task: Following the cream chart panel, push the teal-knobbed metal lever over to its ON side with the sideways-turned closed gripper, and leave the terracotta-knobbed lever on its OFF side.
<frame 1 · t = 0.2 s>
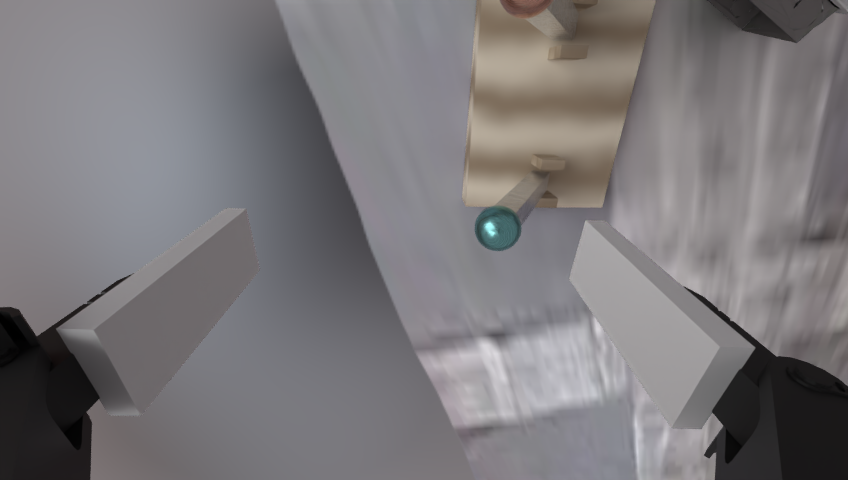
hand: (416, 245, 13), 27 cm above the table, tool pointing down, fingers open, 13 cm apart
switch unit: (542, 98, 36), on the table
terracotta lever: (550, 8, 23), point 12 cm above the table, hinge at -30.0°
teal lever: (520, 201, 29), point 12 cm above the table, hinge at -30.0°
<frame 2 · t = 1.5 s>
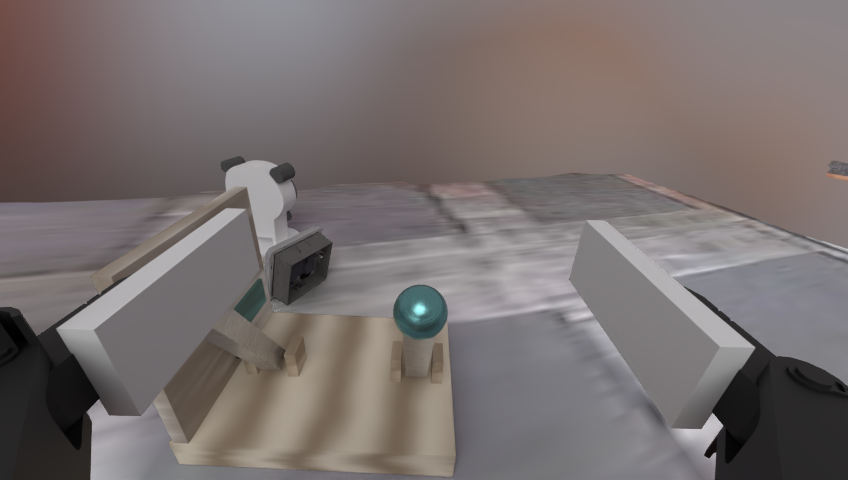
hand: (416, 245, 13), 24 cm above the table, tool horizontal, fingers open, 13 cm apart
switch unit: (339, 388, 35), on the table
terracotta lever: (235, 334, 25), point 12 cm above the table, hinge at -30.0°
panda figurine: (270, 242, 63), on the table
electrical switch: (303, 290, 50), on the table
teal lever: (418, 343, 26), point 12 cm above the table, hinge at -30.0°
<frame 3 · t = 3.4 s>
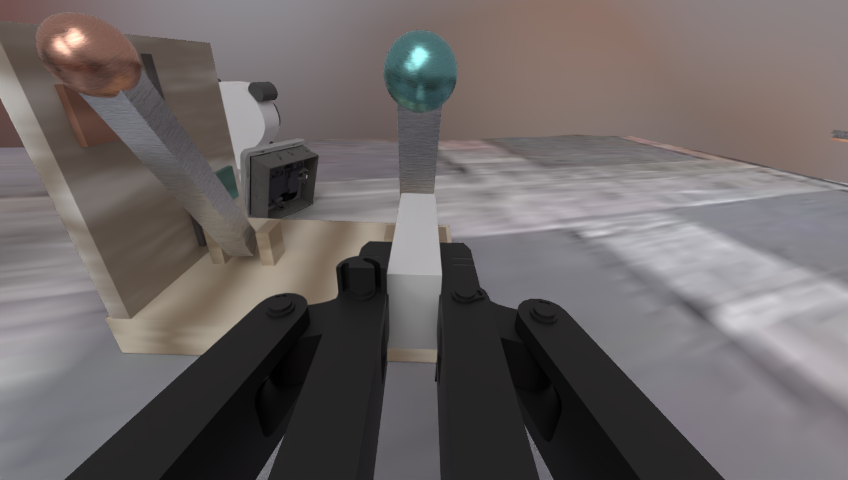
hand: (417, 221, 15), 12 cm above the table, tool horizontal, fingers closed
switch unit: (324, 288, 30), on the table
terracotta lever: (185, 172, 20), point 12 cm above the table, hinge at -30.0°
panda figurine: (252, 178, 57), on the table
electrical switch: (287, 213, 45), on the table
teal lever: (417, 182, 20), point 12 cm above the table, hinge at -30.0°
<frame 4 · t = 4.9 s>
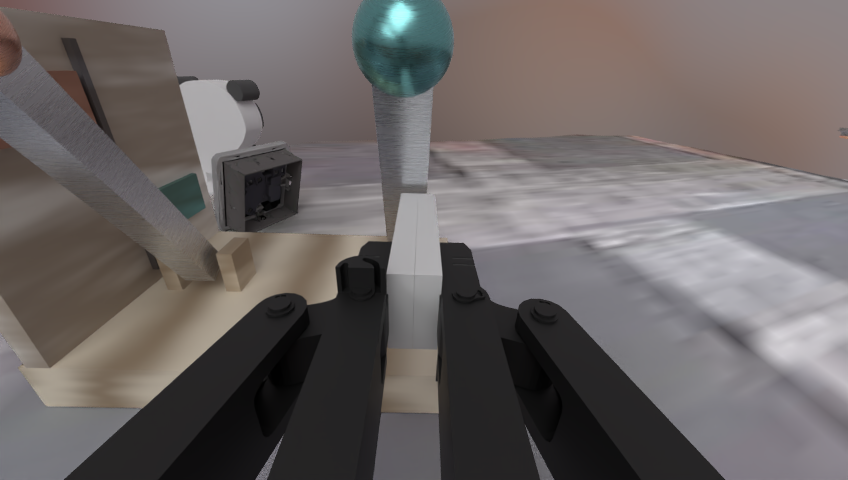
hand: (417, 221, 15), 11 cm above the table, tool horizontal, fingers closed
switch unit: (302, 315, 26), on the table
terracotta lever: (112, 185, 16), point 12 cm above the table, hinge at -30.0°
panda figurine: (234, 184, 53), on the table
electrical switch: (268, 223, 41), on the table
teal lever: (405, 191, 16), point 12 cm above the table, hinge at -28.6°, touching gripper
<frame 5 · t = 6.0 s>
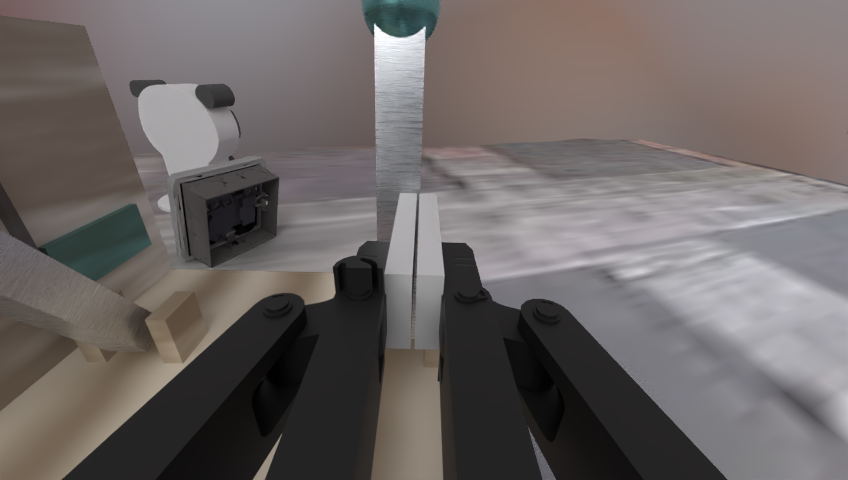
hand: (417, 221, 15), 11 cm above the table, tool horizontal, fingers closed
switch unit: (267, 383, 21), on the table
panda figurine: (209, 199, 48), on the table
electrical switch: (242, 249, 35), on the table
teal lever: (399, 176, 16), point 13 cm above the table, hinge at 7.9°, touching gripper
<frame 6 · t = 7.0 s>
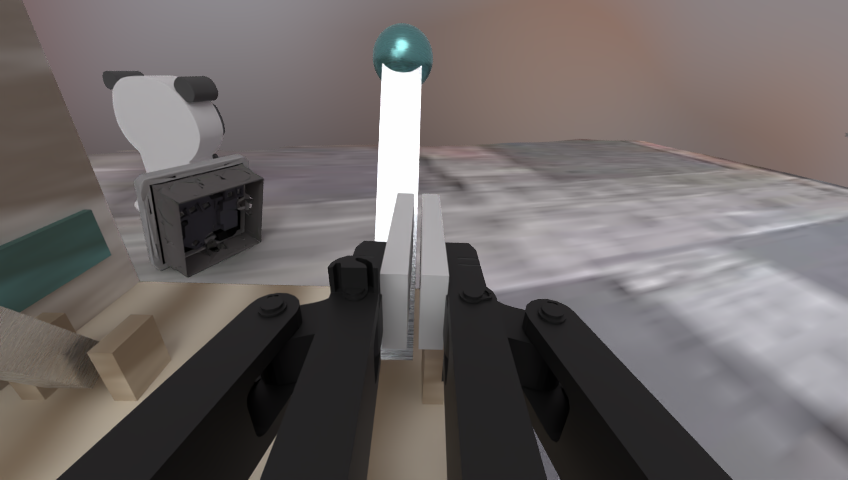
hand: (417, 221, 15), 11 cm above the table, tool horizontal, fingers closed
switch unit: (241, 418, 18), on the table
panda figurine: (192, 200, 44), on the table
electrical switch: (223, 256, 33), on the table
teal lever: (398, 186, 17), point 12 cm above the table, hinge at 32.3°, touching gripper
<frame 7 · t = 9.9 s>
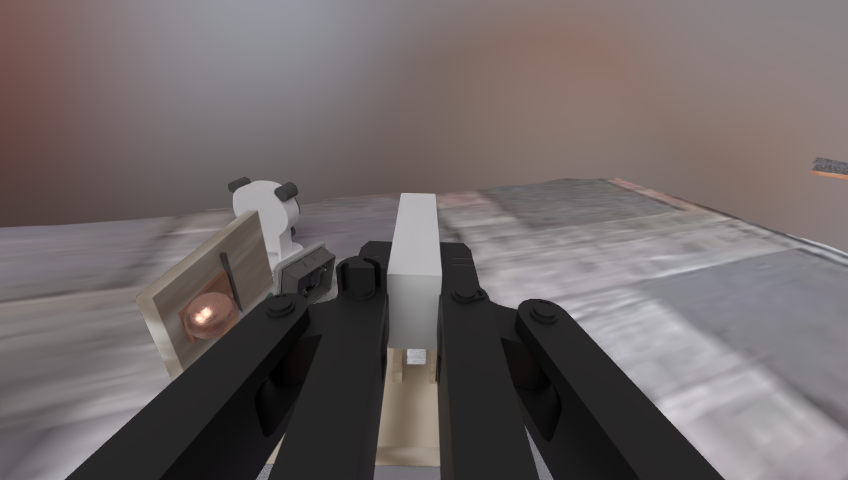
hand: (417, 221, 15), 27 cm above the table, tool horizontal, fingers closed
switch unit: (346, 391, 38), on the table
terracotta lever: (253, 344, 29), point 12 cm above the table, hinge at -30.0°
panda figurine: (275, 256, 66), on the table
electrical switch: (309, 301, 54), on the table
teal lever: (418, 284, 37), point 12 cm above the table, hinge at 30.6°
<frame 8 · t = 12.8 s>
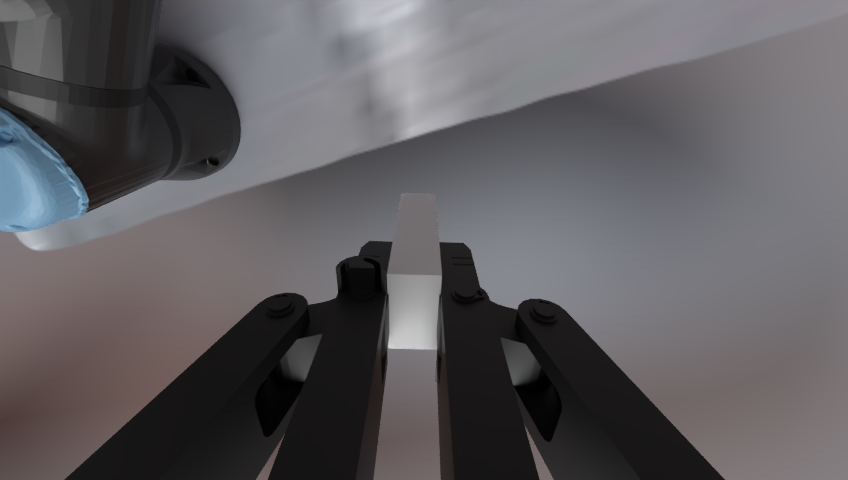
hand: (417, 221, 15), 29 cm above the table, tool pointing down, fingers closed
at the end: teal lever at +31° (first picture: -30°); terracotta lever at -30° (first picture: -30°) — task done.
